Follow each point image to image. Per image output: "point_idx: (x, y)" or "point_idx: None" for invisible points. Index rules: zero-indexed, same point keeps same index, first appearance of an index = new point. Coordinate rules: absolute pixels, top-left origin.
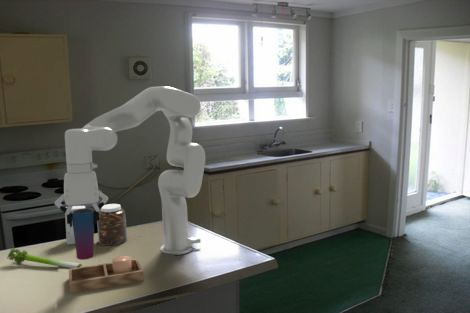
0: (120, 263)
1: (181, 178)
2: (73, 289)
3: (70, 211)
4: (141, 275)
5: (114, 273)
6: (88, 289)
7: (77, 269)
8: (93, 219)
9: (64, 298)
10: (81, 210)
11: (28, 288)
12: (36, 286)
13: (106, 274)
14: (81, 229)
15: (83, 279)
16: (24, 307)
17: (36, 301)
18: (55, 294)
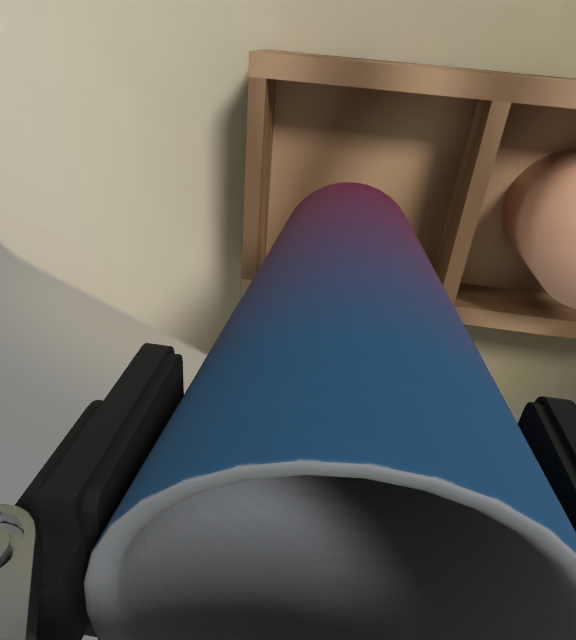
0: (566, 304)
1: None
2: None
3: (64, 612)
4: None
5: (512, 237)
6: None
7: (306, 80)
8: (490, 550)
9: (229, 279)
10: (341, 450)
11: (35, 46)
12: (75, 38)
13: (451, 285)
14: (296, 495)
15: (338, 122)
16: (71, 277)
17: (110, 245)
18: (188, 213)
